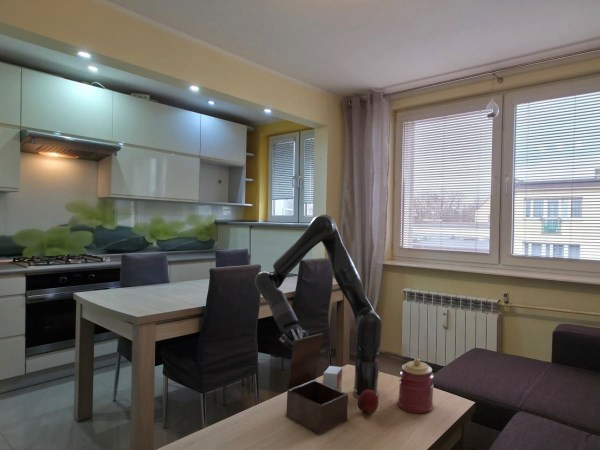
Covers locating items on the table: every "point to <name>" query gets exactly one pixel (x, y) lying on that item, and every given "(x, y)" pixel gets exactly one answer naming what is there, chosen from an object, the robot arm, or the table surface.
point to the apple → (368, 401)
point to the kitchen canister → (416, 387)
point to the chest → (317, 406)
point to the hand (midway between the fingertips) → (304, 356)
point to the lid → (304, 360)
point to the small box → (333, 377)
